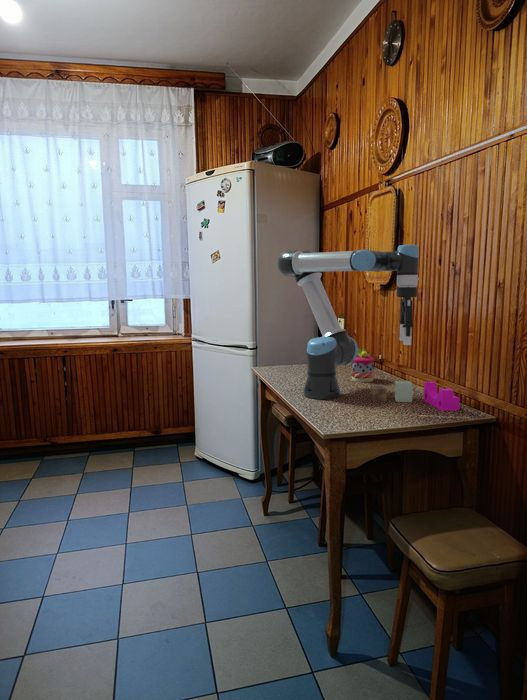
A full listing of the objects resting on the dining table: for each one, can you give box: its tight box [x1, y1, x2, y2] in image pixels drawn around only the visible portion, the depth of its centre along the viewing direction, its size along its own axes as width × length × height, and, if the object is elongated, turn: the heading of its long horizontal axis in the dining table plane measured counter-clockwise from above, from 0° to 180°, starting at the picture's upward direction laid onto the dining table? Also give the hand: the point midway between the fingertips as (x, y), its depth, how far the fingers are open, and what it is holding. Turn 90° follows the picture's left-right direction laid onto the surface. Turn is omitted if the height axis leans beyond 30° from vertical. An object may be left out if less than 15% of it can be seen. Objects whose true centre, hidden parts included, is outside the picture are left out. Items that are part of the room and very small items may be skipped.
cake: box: [350, 348, 375, 383], centre depth 217 cm, size 10×11×15 cm
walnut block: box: [370, 385, 388, 402], centre depth 183 cm, size 5×5×5 cm
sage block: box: [394, 380, 414, 403], centre depth 182 cm, size 6×6×7 cm
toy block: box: [423, 381, 461, 412], centre depth 173 cm, size 15×6×8 cm, turn 6°
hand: (405, 342), depth 180 cm, fingers open, 12 cm apart
